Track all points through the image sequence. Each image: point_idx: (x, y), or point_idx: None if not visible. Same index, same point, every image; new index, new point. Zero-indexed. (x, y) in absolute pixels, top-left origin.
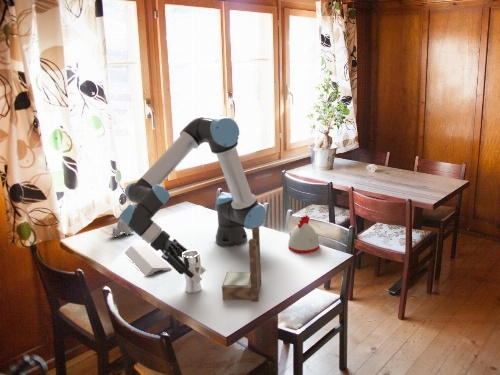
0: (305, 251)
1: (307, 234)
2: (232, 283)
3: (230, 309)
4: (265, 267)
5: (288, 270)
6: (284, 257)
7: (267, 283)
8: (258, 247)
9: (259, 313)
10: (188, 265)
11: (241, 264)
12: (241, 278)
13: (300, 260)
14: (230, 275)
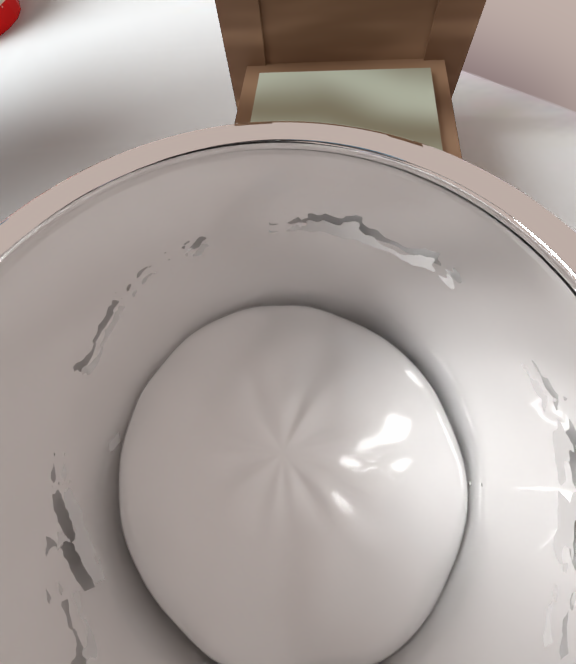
0: (10, 5)
1: None
2: (414, 137)
3: None
4: (91, 117)
5: (149, 49)
6: (19, 67)
7: None
8: None
9: (543, 104)
10: (507, 486)
11: (11, 211)
12: (336, 103)
13: (72, 26)
14: None
